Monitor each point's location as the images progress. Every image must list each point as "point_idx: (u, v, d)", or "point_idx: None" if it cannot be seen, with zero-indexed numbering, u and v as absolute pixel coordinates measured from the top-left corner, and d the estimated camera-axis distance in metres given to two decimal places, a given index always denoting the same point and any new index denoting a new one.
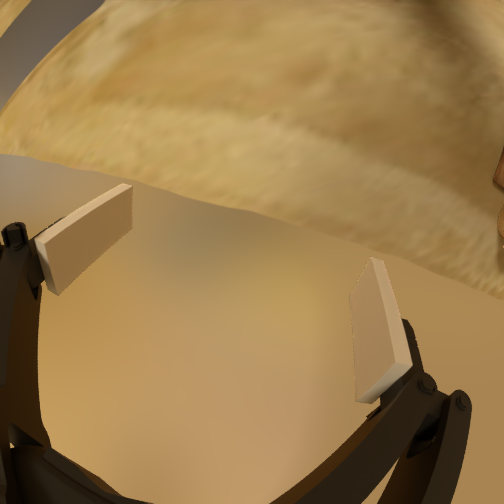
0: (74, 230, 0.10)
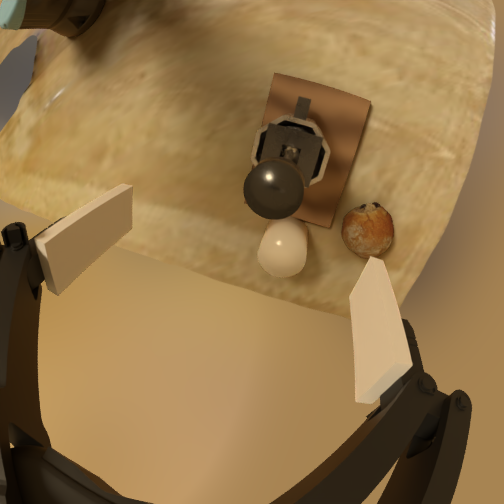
0: (74, 230, 0.10)
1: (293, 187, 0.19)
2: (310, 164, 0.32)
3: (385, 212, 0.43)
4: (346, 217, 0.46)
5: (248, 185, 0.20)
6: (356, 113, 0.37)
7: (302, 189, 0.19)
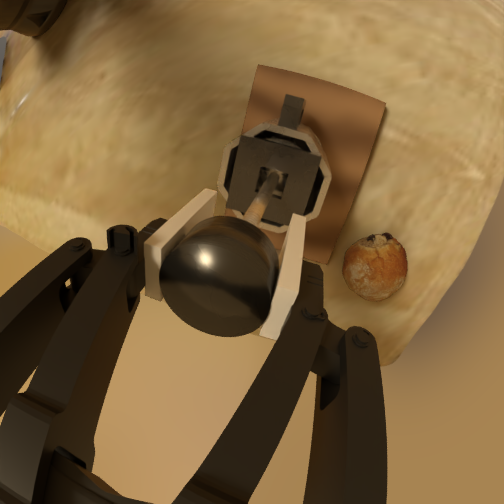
0: (181, 234, 0.11)
1: (249, 292, 0.10)
2: (301, 196, 0.23)
3: (399, 246, 0.33)
4: (349, 251, 0.36)
5: (166, 281, 0.10)
6: (366, 118, 0.28)
7: (267, 296, 0.09)
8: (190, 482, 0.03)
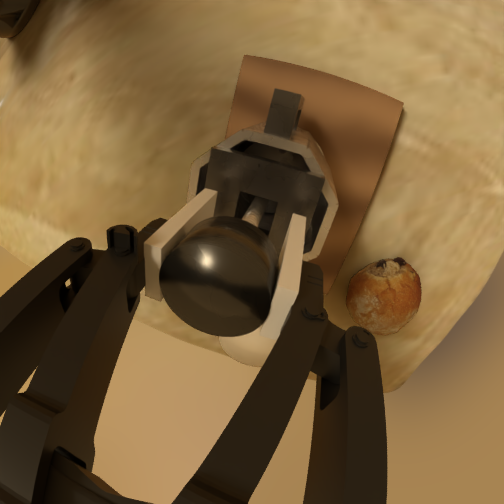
0: (181, 234, 0.11)
1: (249, 292, 0.10)
2: None
3: (413, 275, 0.27)
4: (355, 280, 0.30)
5: (166, 281, 0.10)
6: (380, 122, 0.22)
7: (267, 296, 0.09)
8: (190, 482, 0.03)
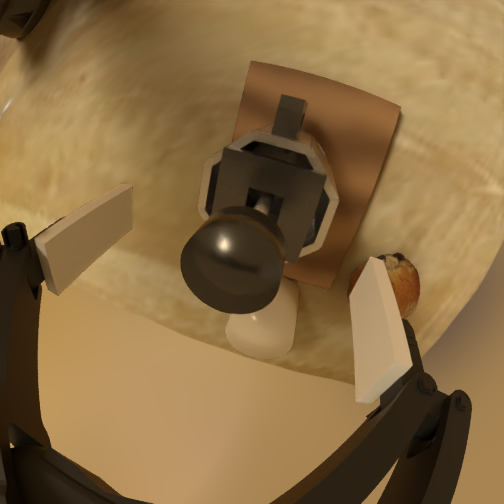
0: (74, 230, 0.10)
1: (262, 270, 0.11)
2: (300, 225, 0.18)
3: (412, 269, 0.28)
4: (356, 274, 0.32)
5: (187, 262, 0.12)
6: (379, 125, 0.23)
7: (278, 274, 0.11)
8: None
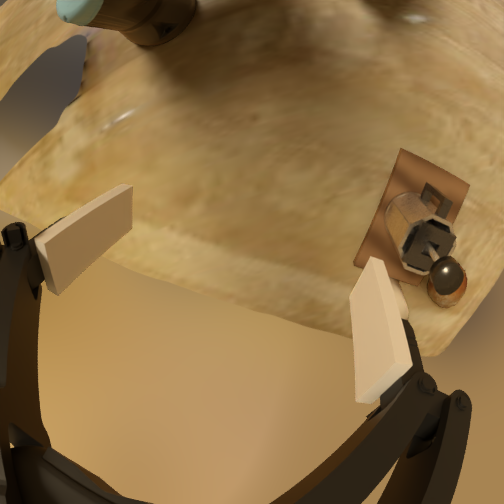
0: (74, 230, 0.10)
1: (459, 279, 0.26)
2: None
3: (464, 272, 0.43)
4: None
5: (439, 277, 0.27)
6: (458, 195, 0.38)
7: (462, 280, 0.26)
8: None
